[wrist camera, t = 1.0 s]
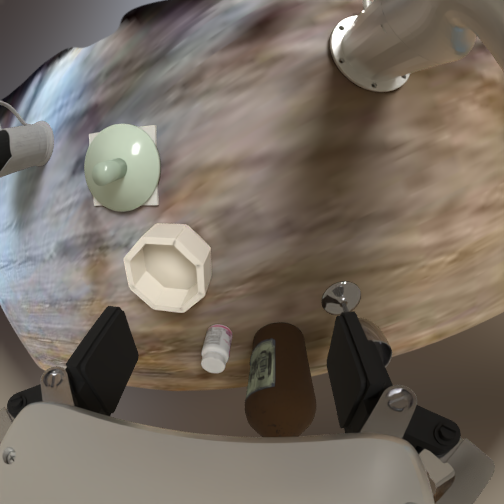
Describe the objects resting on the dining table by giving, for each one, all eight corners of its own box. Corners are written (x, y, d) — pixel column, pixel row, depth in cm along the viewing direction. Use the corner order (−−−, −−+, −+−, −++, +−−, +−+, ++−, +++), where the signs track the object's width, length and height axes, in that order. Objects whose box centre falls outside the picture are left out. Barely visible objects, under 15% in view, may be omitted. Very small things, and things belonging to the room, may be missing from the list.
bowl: (137, 221, 40) (119, 235, 35) (211, 224, 40) (202, 239, 35) (146, 287, 46) (133, 306, 40) (213, 293, 45) (206, 315, 40)
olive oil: (318, 335, 48) (339, 457, 26) (283, 365, 52) (286, 477, 29) (273, 309, 46) (274, 444, 23) (239, 344, 50) (224, 465, 27)
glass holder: (31, 172, 37) (-26, 194, 23) (20, 108, 31) (-36, 116, 17) (57, 157, 36) (-5, 176, 22) (47, 87, 30) (-14, 88, 16)
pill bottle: (235, 340, 50) (230, 374, 42) (211, 342, 50) (203, 375, 43) (229, 321, 48) (222, 355, 40) (204, 324, 48) (194, 357, 41)
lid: (85, 130, 34) (63, 132, 28) (160, 119, 33) (143, 118, 28) (91, 210, 39) (71, 221, 34) (162, 210, 39) (147, 223, 34)
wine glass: (323, 322, 47) (338, 387, 33) (314, 287, 44) (331, 352, 30) (365, 309, 45) (391, 371, 32) (360, 273, 42) (392, 333, 29)
